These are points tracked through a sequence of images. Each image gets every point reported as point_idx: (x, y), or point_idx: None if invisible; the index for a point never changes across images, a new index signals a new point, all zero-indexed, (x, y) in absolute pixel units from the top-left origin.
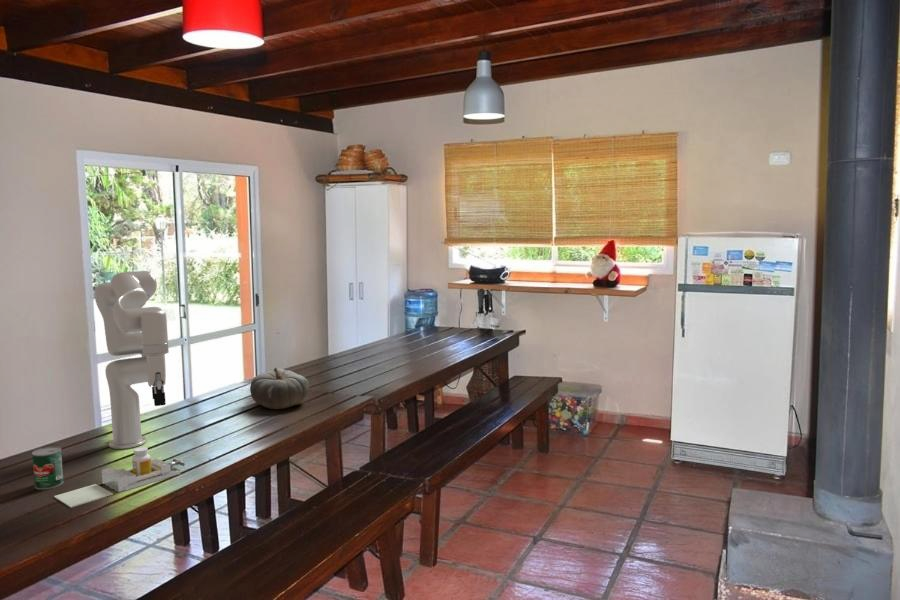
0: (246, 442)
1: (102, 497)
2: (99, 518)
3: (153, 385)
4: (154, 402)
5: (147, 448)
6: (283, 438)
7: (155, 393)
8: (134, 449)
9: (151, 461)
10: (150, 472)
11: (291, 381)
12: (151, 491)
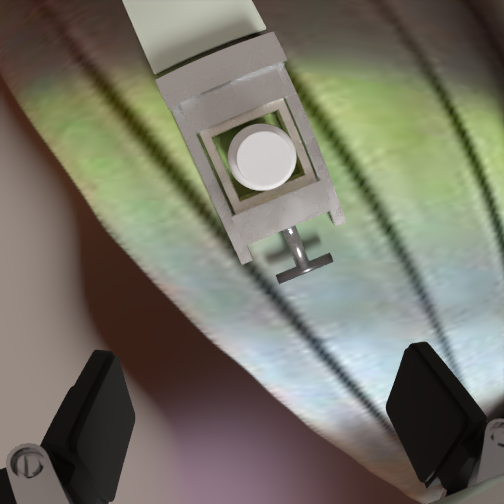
0: (384, 406)
1: (144, 50)
2: (28, 72)
3: (479, 445)
4: (85, 369)
5: (263, 186)
6: (355, 454)
7: (24, 450)
8: (274, 133)
9: (312, 190)
10: (227, 179)
11: None
12: (131, 176)
